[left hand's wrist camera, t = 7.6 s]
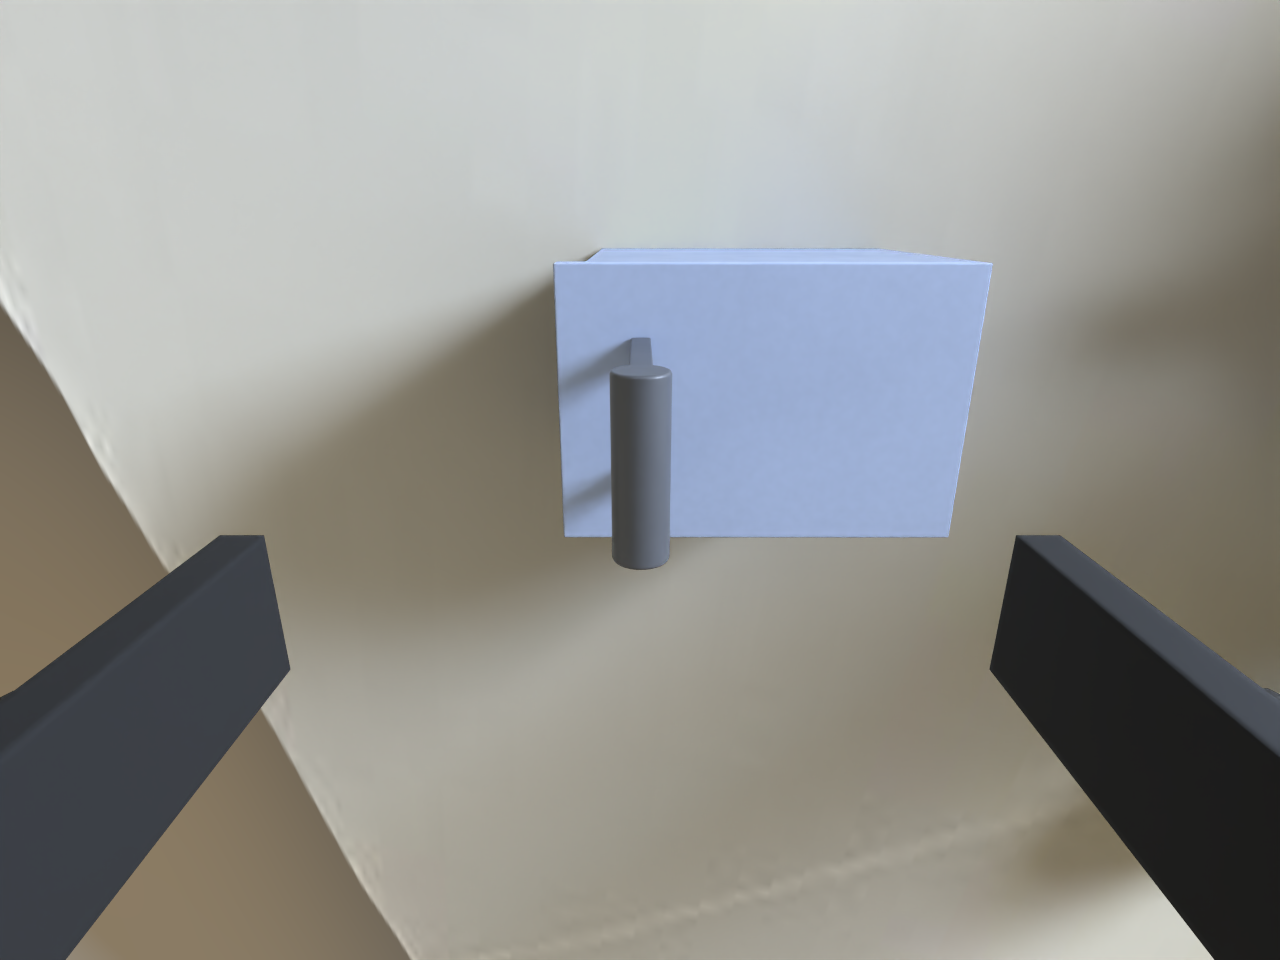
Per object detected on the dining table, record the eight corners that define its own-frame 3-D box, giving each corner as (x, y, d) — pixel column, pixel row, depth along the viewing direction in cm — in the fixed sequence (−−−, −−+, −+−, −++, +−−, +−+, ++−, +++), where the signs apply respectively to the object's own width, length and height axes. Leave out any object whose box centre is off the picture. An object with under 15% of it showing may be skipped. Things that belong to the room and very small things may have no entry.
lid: (566, 527, 29) (538, 643, 21) (556, 261, 25) (517, 280, 17) (938, 527, 29) (1050, 643, 21) (980, 261, 25) (1133, 281, 17)
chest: (604, 443, 39) (591, 526, 29) (601, 248, 36) (584, 261, 25) (857, 443, 39) (938, 527, 29) (879, 248, 36) (979, 261, 25)
